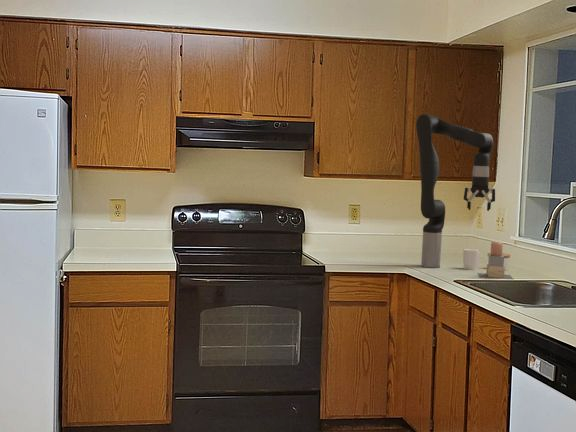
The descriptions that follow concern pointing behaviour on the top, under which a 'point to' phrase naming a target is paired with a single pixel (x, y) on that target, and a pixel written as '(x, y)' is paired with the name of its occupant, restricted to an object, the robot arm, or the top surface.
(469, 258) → the white cup
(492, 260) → the grey block
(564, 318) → the top surface
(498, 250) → the terracotta cylinder
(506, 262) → the lidded jar
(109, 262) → the top surface
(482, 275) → the charcoal mat
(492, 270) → the maple block
